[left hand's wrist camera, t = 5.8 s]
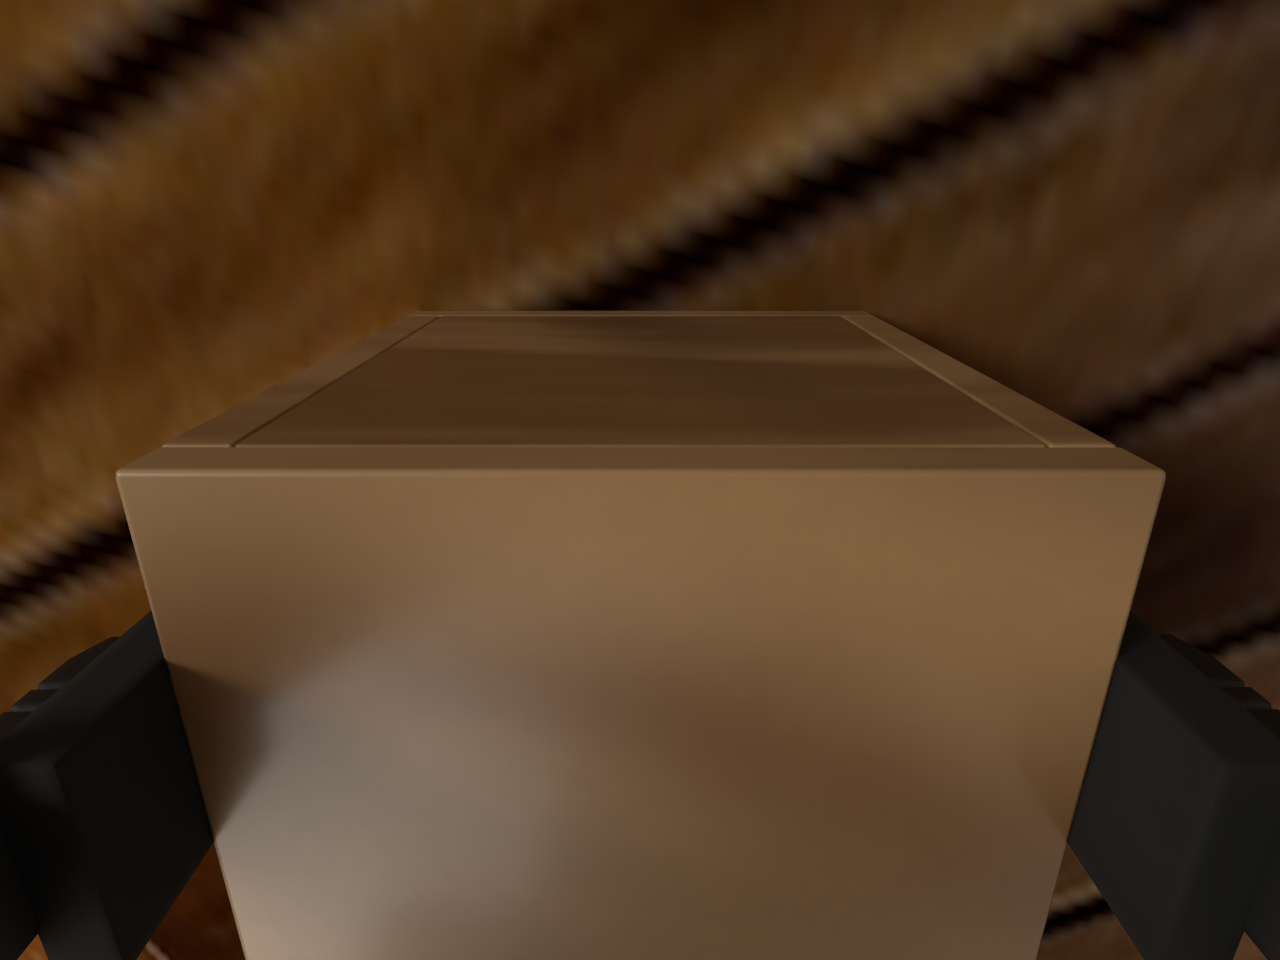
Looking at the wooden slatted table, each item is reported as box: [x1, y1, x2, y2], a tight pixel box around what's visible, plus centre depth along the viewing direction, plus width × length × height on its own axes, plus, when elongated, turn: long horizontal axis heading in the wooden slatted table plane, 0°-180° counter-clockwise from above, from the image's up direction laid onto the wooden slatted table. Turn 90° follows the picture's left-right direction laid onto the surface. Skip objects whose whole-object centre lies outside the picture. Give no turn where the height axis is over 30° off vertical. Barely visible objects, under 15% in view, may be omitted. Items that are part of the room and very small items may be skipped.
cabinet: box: [116, 311, 1166, 960], centre depth 16 cm, size 20×11×11 cm, turn 0°
